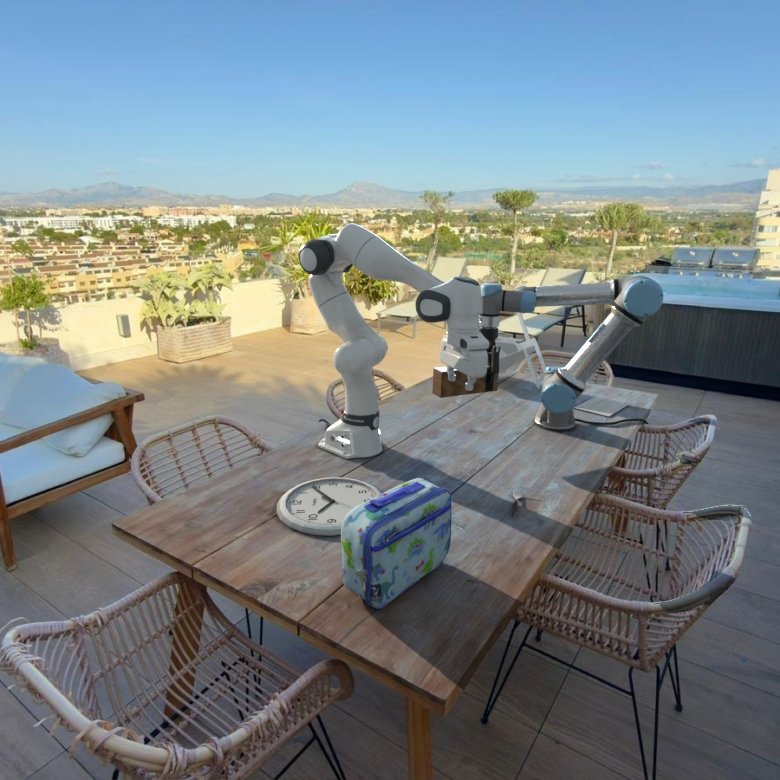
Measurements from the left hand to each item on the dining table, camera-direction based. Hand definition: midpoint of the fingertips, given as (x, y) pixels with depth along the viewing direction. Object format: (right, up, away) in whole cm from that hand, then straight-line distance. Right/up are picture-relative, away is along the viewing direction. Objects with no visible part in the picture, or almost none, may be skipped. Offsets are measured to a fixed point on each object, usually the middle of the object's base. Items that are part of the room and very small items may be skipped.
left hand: (460, 385), depth 148 cm
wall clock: (-36, -33, -5) cm, 49 cm away
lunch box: (-18, -43, -35) cm, 58 cm away
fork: (+15, -33, -3) cm, 37 cm away
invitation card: (+72, -9, +78) cm, 106 cm away
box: (+8, -2, +45) cm, 46 cm away
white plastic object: (+36, +2, +110) cm, 116 cm away
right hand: (+15, -1, +48) cm, 50 cm away
